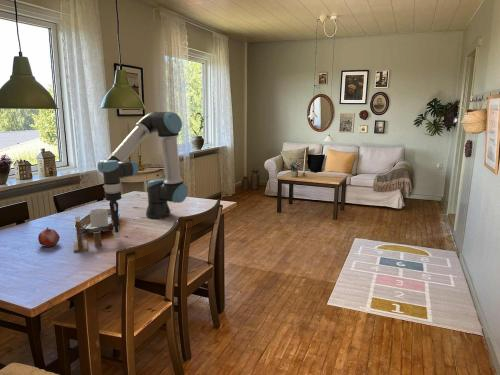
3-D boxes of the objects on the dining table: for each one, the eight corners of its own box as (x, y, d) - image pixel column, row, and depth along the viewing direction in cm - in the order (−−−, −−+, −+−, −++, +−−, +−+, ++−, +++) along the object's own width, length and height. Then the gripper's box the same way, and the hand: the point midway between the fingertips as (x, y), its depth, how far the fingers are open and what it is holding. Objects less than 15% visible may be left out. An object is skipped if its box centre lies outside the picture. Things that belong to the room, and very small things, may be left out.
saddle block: (100, 242, 187) (99, 230, 186) (101, 246, 183) (100, 233, 181) (94, 243, 186) (93, 231, 185) (95, 246, 182) (94, 234, 180)
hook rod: (119, 230, 191) (118, 218, 189) (121, 234, 185) (120, 222, 184) (78, 236, 183) (77, 223, 181) (79, 240, 177) (77, 227, 176)
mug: (102, 233, 201) (100, 213, 198) (88, 232, 203) (86, 212, 200) (114, 226, 212) (113, 207, 210) (100, 225, 214) (99, 206, 212)
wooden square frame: (86, 242, 188) (84, 215, 184) (87, 250, 177) (84, 221, 174) (73, 244, 185) (70, 216, 182) (73, 252, 174) (70, 223, 171)
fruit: (44, 242, 187) (41, 223, 185) (63, 241, 188) (61, 223, 186) (34, 249, 179) (32, 229, 176) (55, 248, 179) (52, 229, 177)
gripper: (103, 188, 189) (106, 230, 194) (106, 196, 172) (110, 243, 177) (118, 187, 192) (121, 229, 197) (123, 195, 175) (126, 240, 180)
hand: (116, 235), depth 187 cm, fingers closed on hook rod, 6 cm apart
